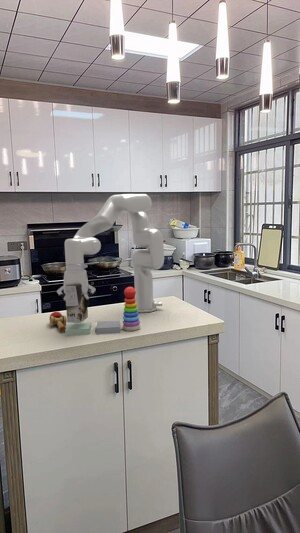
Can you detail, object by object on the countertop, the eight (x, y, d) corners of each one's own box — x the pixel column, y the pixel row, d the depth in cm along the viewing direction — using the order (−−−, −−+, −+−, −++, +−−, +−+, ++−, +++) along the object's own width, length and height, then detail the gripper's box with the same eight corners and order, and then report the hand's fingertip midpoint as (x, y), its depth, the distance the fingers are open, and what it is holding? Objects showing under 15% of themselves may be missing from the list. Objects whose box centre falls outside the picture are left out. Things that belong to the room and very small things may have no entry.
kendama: (73, 333, 165) (64, 318, 181) (70, 321, 163) (61, 306, 179) (56, 339, 162) (48, 323, 178) (52, 326, 160) (45, 311, 176)
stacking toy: (120, 327, 167) (118, 286, 165) (136, 325, 170) (135, 284, 168) (125, 332, 160) (124, 289, 157) (143, 329, 163) (141, 287, 161)
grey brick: (120, 326, 170) (119, 320, 169) (120, 333, 160) (119, 326, 159) (97, 328, 169) (97, 321, 169) (96, 335, 159) (96, 328, 159)
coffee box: (80, 323, 157) (78, 285, 155) (66, 322, 159) (64, 285, 157) (88, 317, 166) (86, 281, 164) (75, 317, 168) (73, 281, 166)
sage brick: (90, 328, 169) (90, 322, 168) (89, 335, 159) (89, 328, 158) (68, 329, 168) (68, 323, 167) (65, 336, 158) (65, 329, 158)
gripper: (96, 265, 164) (98, 305, 166) (55, 267, 163) (58, 307, 165) (95, 268, 157) (97, 309, 159) (52, 269, 155) (55, 311, 157)
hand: (77, 308), depth 162 cm, fingers closed on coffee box, 7 cm apart
